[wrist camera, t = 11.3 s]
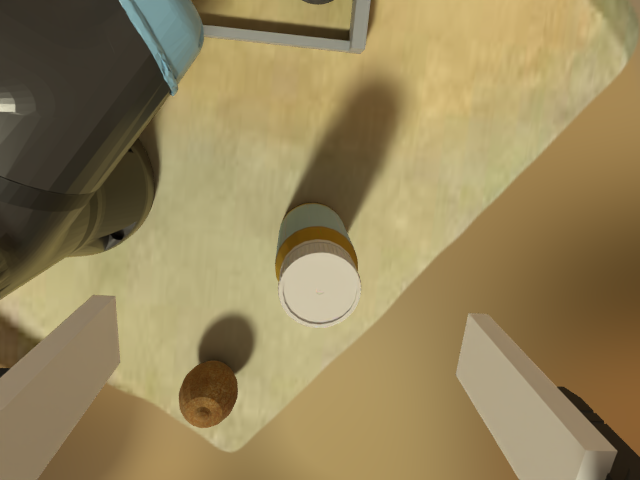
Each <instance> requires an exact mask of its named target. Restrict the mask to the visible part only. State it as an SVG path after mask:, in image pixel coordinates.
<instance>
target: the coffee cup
mask: <svg viewBox="0 0 640 480" xmlns="http://www.w3.org/2000/svg"><path fill="white" fill-rule="evenodd" d="M303 1H305V2H307V3H310V4H325V3H329V2H331V1H333V0H303Z"/></svg>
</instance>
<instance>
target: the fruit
mask: <svg viewBox="0 0 640 480" xmlns="http://www.w3.org/2000/svg"><path fill="white" fill-rule="evenodd" d="M237 394H238V388H237V379H236V377H235V375H234V373H233V371H232V370H231V368H230V367H228V366H227V365H226V364H225V363H222V362H220V361H207V362H204V363H201V364H199V365H197V366H196V367H195V368H194V369H192V370H191V371H190V372H189V373H188V374H187V375H186V377H185V379H184V381H183V383H182V386H181V388H180V392H179V405H180V410H181V413H182V414H183V416H184V418H185V419H186V420H187V421H188V422H189V423H191V424H192V425H193V426H196V427H200V428H208V427H211V426H214V425H217V424H219V423H220V422H221V421H222V420H224V419H225V418H226V417H227V416H228V415H229V414H230V412H231V411H232V409H233V407H234V404H235V402H236V399H237Z"/></svg>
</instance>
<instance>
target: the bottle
mask: <svg viewBox="0 0 640 480" xmlns="http://www.w3.org/2000/svg"><path fill="white" fill-rule="evenodd" d="M275 267H276V277H277V280H278V282H279V283H278V295H279V299H280V303H281V304H282V307H283V308H284V310H285V312H286V313H287V314H288V315H289V316H290V317H291V318H292V319H293V320H295V321H296V322H298V323H300V324H302V325H305V326H308V327H313V328H324V327H330V326H333V325H336V324H338V323H340V322H342V321H343V320H345V319H346V318H347V317H348V316H349V315H350V314H351V313H352V312H353V311H354V310H355V308H356V306H357V304H358V302H359V299H360V295H361V280H360V277H359V274H358V272H357V271H358V261H357V256H356V253H355V250H354V248H353V245H352V243H351V241H350V238H349V236H348V234H347V231H346V229H345V227H344V224H343V222H342V220H341V219H340V217H339V216H338V215H337V213H336V212H335V211H334V210H332V209H331V208H329V207H328V206H326V205H323V204H319V203H305V204H302V205H299V206H297V207H295V208H294V209H292V210H291V211H290V212H289V213H288V214H287V215H286V216H285V218H284V219H283V221H282V224H281V227H280V231H279V238H278V246H277V253H276V262H275Z"/></svg>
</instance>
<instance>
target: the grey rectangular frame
mask: <svg viewBox="0 0 640 480" xmlns="http://www.w3.org/2000/svg"><path fill="white" fill-rule="evenodd" d="M370 1H371V0H353V3H352V13H351V23H350V33H349V41H344V40H335V39H326V38H317V37H308V36H299V35H291V34H282V33H273V32H264V31H255V30H246V29H237V28H228V27H219V26H210V25H203V30H204V37H212V38H221V39H230V40H239V41H248V42H257V43H266V44H275V45H285V46H294V47H303V48H312V49H321V50H330V51H339V52H349V53H358V54H360V53H361V52H362V51H364V50H365V45H366V36H367V27H368V19H369V10H370Z"/></svg>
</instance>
